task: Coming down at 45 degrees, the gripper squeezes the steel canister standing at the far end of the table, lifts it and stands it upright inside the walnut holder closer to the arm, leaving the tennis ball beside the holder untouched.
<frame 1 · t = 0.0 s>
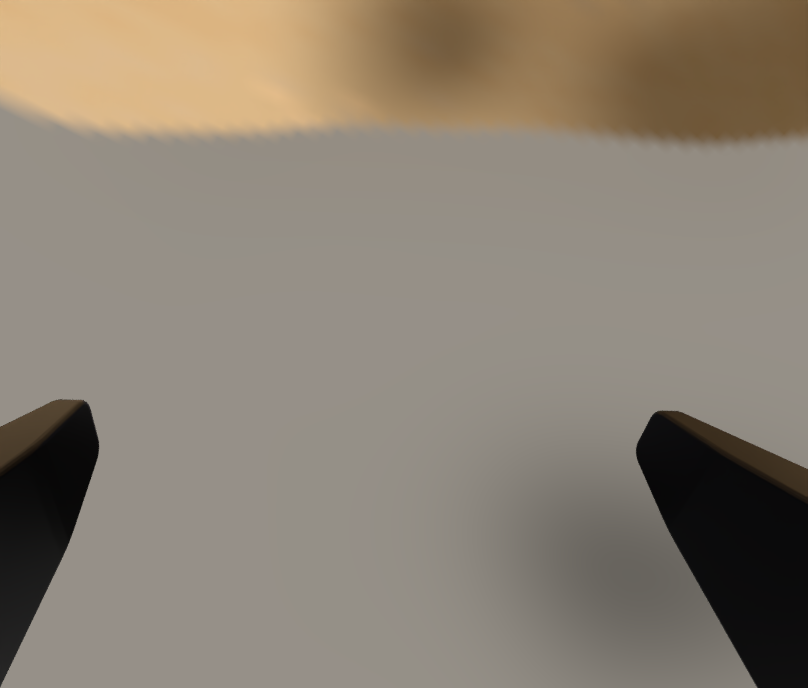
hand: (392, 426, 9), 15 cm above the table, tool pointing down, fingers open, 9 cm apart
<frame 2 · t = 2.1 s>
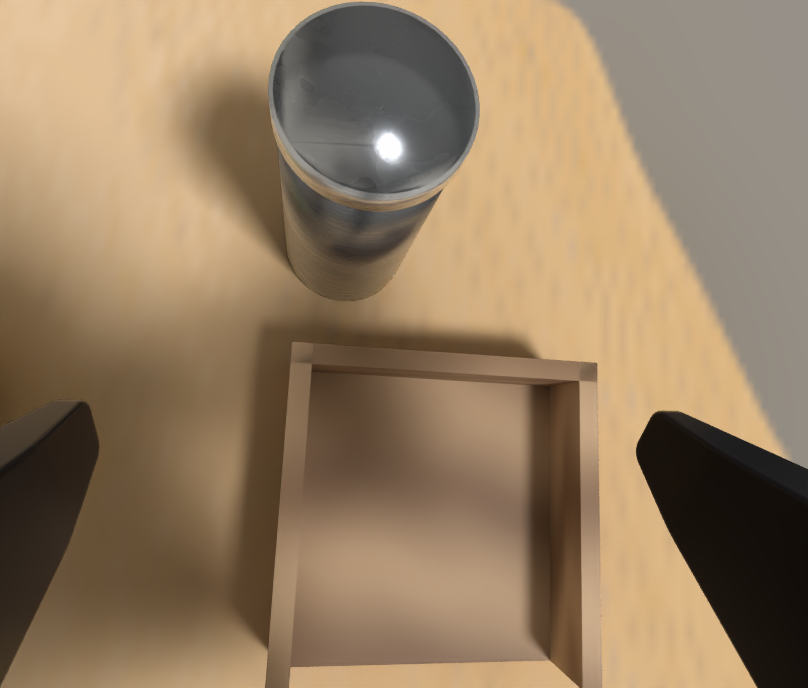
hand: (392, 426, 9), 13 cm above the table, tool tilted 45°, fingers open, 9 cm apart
holder: (423, 502, 22), on the table
canister: (344, 245, 23), on the table
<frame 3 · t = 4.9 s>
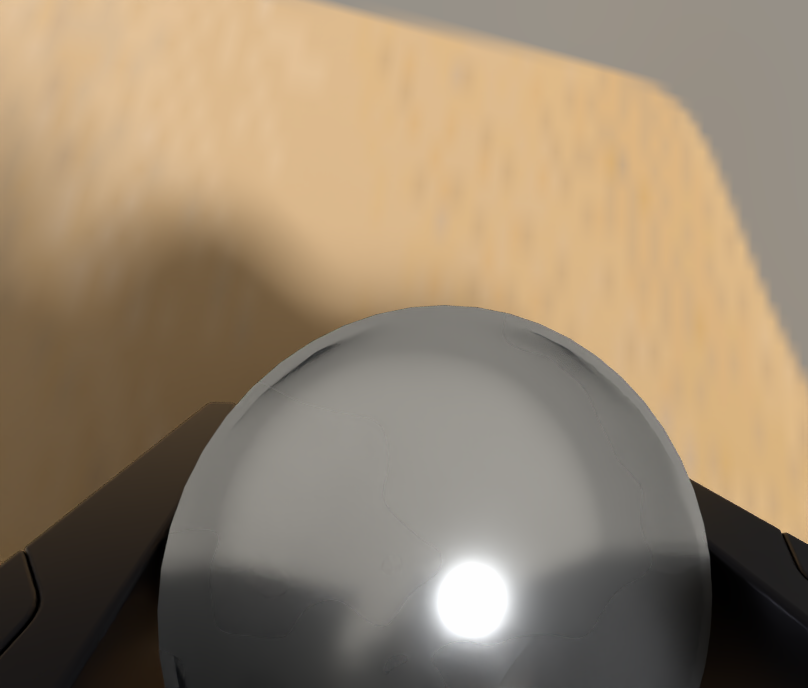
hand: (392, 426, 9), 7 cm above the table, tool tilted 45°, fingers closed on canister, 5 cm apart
canister: (354, 481, 15), on the table, touching gripper
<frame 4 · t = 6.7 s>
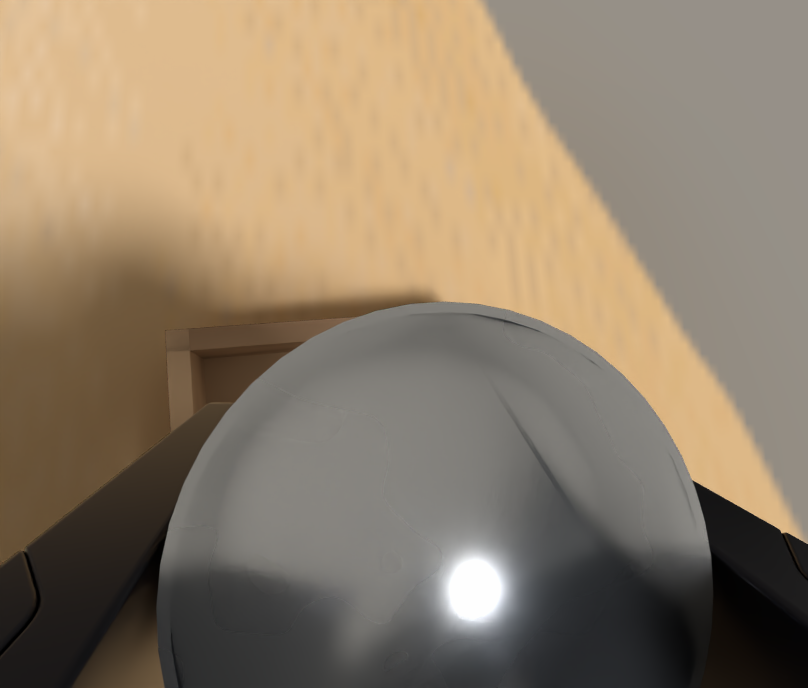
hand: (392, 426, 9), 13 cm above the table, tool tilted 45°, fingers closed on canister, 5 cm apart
holder: (345, 474, 22), on the table
canister: (354, 480, 15), point 7 cm above the table, touching gripper
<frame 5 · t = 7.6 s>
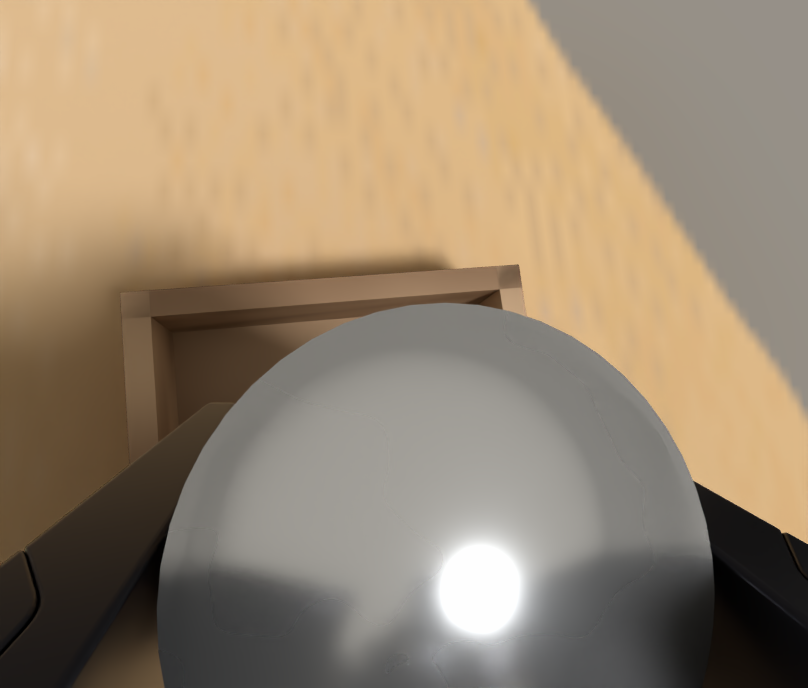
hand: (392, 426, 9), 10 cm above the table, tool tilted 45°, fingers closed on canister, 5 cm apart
holder: (344, 468, 18), on the table
canister: (354, 481, 15), point 3 cm above the table, touching gripper
when the fingers open (9 cm above the table, at t = 8.2 s): canister drops 1 cm, resting on holder.
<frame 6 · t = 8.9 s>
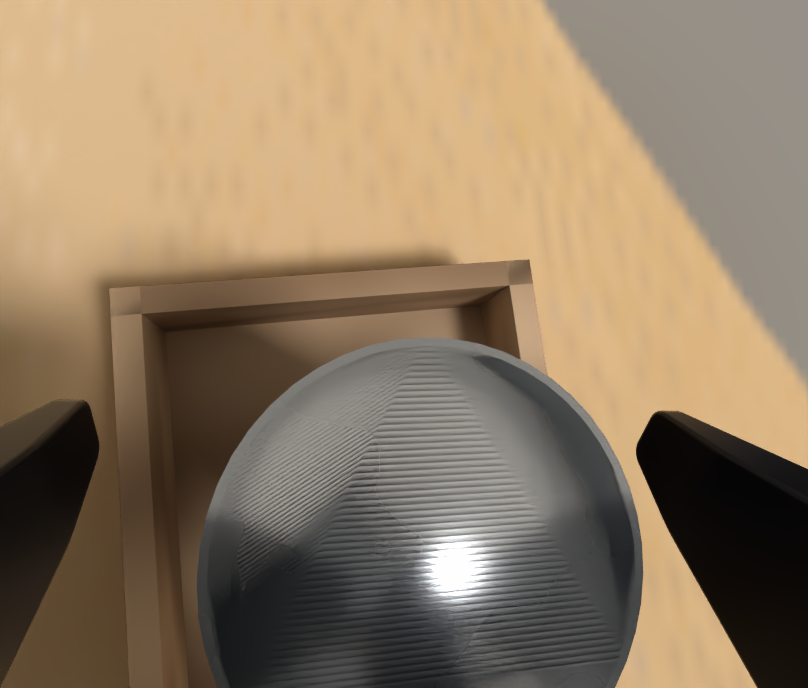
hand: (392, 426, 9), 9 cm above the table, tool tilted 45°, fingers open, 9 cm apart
holder: (346, 474, 17), on the table
canister: (350, 480, 16), point 1 cm above the table, touching holder
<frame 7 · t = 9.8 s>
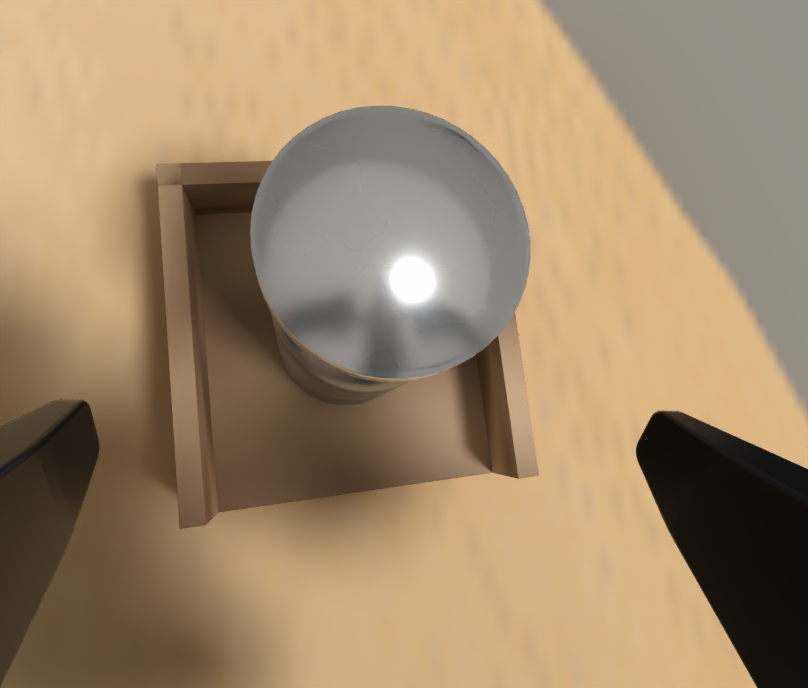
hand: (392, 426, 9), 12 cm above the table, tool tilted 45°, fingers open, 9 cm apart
holder: (342, 341, 21), on the table
canister: (346, 338, 20), point 1 cm above the table, touching holder
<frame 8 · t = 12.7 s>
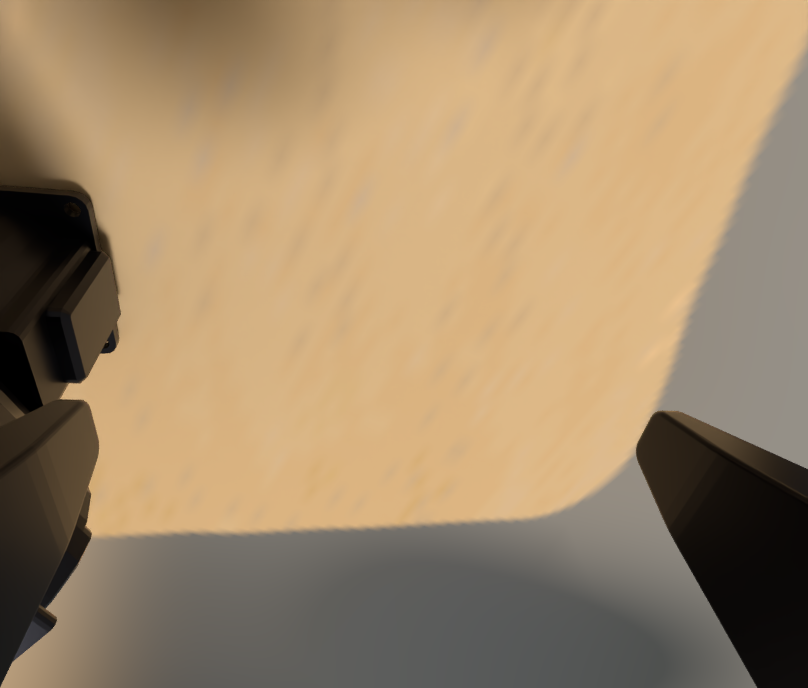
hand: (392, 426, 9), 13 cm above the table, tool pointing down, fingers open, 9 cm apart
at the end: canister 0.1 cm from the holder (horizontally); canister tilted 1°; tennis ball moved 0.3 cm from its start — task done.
